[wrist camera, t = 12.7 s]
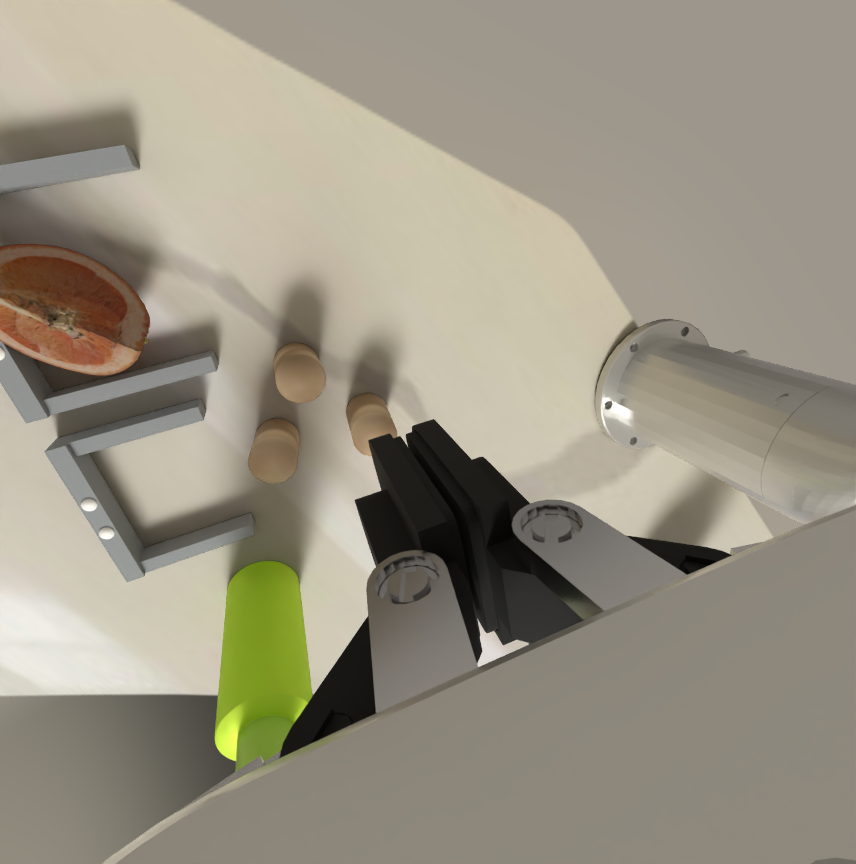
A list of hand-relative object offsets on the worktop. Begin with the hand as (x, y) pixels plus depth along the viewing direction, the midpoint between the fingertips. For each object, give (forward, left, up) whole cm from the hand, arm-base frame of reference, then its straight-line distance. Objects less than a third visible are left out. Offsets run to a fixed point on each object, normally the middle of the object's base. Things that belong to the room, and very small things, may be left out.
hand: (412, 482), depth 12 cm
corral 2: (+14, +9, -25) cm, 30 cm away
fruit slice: (+13, -4, -25) cm, 29 cm away
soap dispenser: (+11, +21, -25) cm, 35 cm away
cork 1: (+5, +8, -25) cm, 27 cm away
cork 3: (-2, +8, -25) cm, 26 cm away
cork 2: (+2, +3, -25) cm, 25 cm away
